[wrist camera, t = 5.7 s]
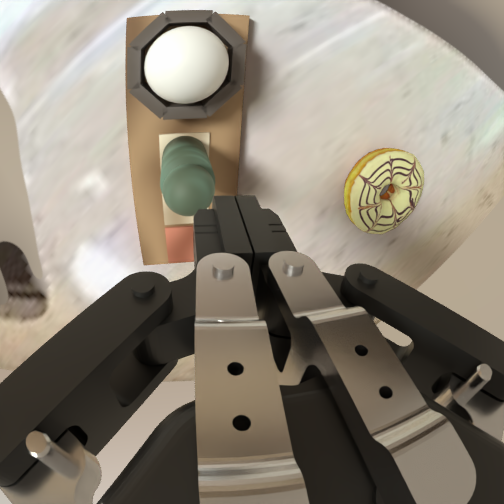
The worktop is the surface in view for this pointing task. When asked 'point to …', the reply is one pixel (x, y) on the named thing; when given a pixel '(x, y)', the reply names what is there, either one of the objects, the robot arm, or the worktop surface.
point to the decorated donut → (373, 181)
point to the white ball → (186, 64)
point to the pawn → (186, 176)
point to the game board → (180, 128)
